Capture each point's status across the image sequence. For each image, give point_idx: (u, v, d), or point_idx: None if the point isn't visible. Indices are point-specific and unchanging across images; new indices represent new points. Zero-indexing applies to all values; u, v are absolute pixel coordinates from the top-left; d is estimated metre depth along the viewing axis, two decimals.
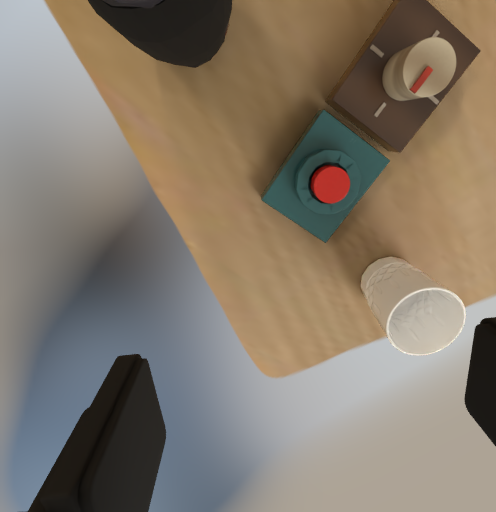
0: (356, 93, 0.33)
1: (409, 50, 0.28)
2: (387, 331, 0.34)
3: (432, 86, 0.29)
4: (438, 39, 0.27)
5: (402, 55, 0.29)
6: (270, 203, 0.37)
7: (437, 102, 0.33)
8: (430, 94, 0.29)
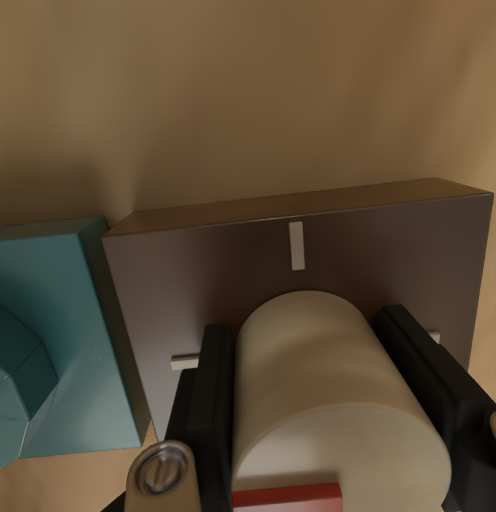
0: (169, 282, 0.10)
1: (340, 392, 0.06)
2: None
3: None
4: (439, 450, 0.06)
5: (316, 362, 0.07)
6: None
7: None
8: None
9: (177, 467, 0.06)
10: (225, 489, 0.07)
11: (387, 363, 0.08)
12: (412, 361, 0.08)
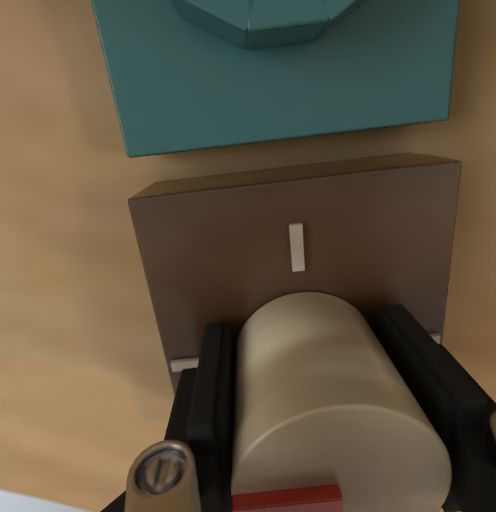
0: (397, 228, 0.10)
1: (338, 395, 0.06)
2: None
3: None
4: (438, 451, 0.06)
5: (315, 364, 0.07)
6: None
7: (173, 366, 0.11)
8: None
9: (177, 467, 0.06)
10: (225, 489, 0.07)
11: (386, 364, 0.08)
12: (412, 361, 0.08)
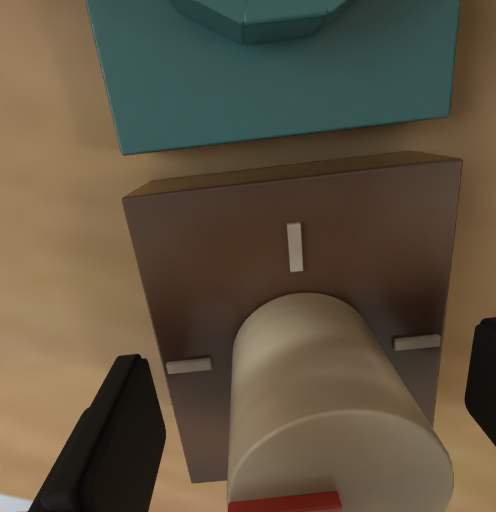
0: (397, 228, 0.09)
1: (337, 399, 0.06)
2: None
3: None
4: (440, 457, 0.06)
5: (313, 367, 0.07)
6: None
7: (169, 368, 0.11)
8: None
9: None
10: None
11: (386, 367, 0.07)
12: None
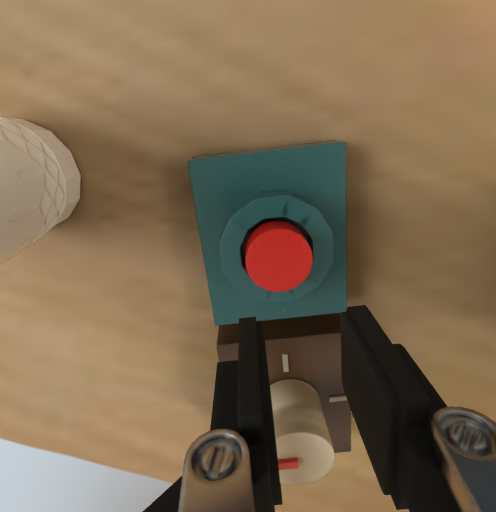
0: (327, 355, 0.23)
1: (296, 428, 0.20)
2: None
3: (285, 475, 0.21)
4: (328, 446, 0.20)
5: (290, 416, 0.21)
6: (327, 148, 0.19)
7: None
8: None
9: (232, 455, 0.06)
10: (271, 478, 0.07)
11: (316, 415, 0.21)
12: (367, 361, 0.08)
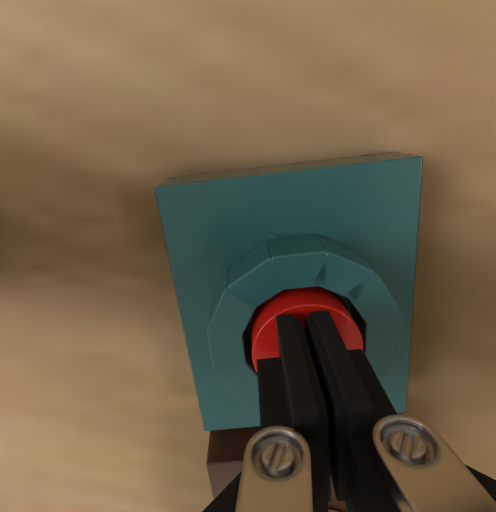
0: None
1: None
2: None
3: None
4: None
5: None
6: (391, 167, 0.11)
7: None
8: None
9: (291, 452, 0.06)
10: None
11: None
12: (321, 367, 0.08)
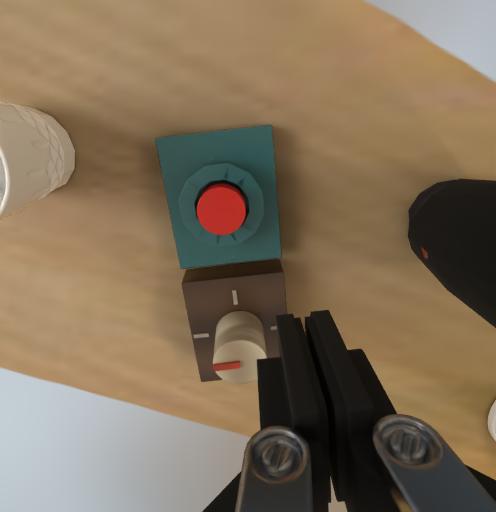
0: (266, 291, 0.30)
1: (237, 338, 0.27)
2: None
3: (231, 376, 0.28)
4: (262, 351, 0.27)
5: (234, 332, 0.28)
6: (258, 129, 0.26)
7: (194, 336, 0.32)
8: (225, 379, 0.28)
9: (291, 452, 0.06)
10: None
11: (255, 332, 0.28)
12: (321, 367, 0.08)
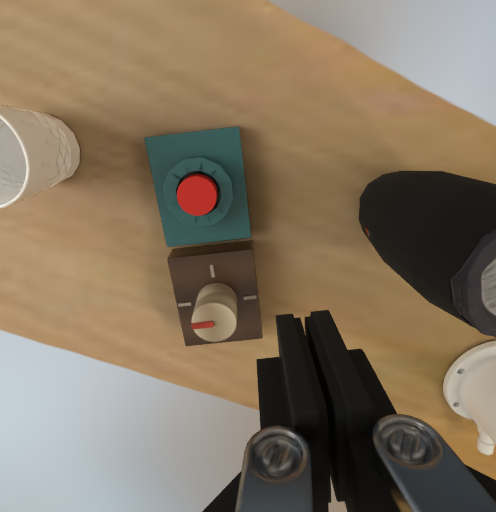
0: (239, 265, 0.36)
1: (211, 301, 0.33)
2: None
3: (207, 334, 0.33)
4: (231, 313, 0.33)
5: (209, 297, 0.33)
6: (228, 130, 0.32)
7: (179, 305, 0.37)
8: (202, 337, 0.34)
9: (290, 452, 0.06)
10: None
11: (227, 298, 0.34)
12: (321, 367, 0.08)
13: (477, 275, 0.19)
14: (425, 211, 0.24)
